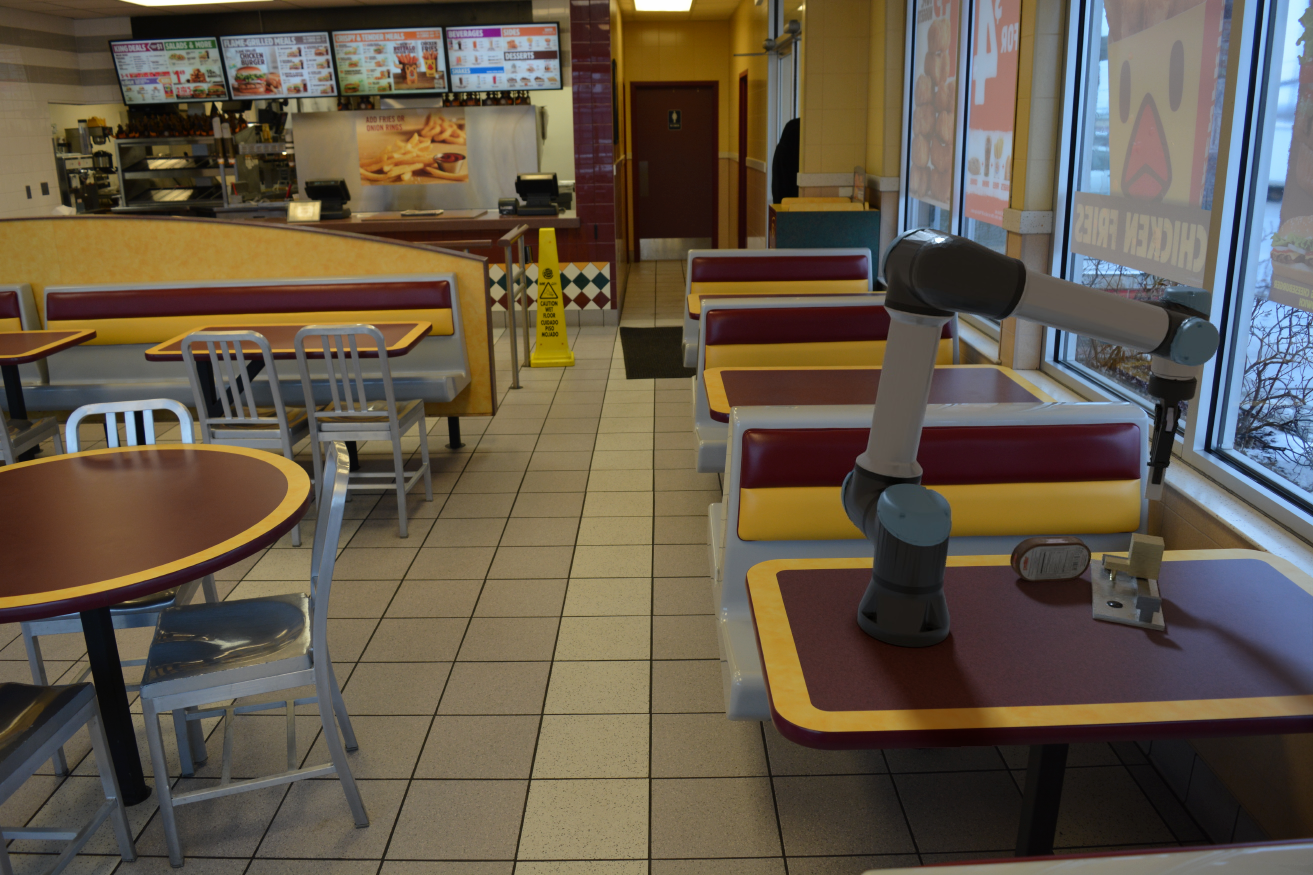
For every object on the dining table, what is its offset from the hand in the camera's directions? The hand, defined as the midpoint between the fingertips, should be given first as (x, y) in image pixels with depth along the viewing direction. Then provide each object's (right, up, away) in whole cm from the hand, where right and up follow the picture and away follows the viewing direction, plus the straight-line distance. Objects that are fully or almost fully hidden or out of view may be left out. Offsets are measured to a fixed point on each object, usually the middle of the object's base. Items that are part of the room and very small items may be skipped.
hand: (1152, 498), depth 177 cm
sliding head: (-5, -15, -1) cm, 16 cm away
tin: (-18, -16, +3) cm, 24 cm away
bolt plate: (-7, -17, -3) cm, 19 cm away
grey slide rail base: (-6, -17, -4) cm, 18 cm away
